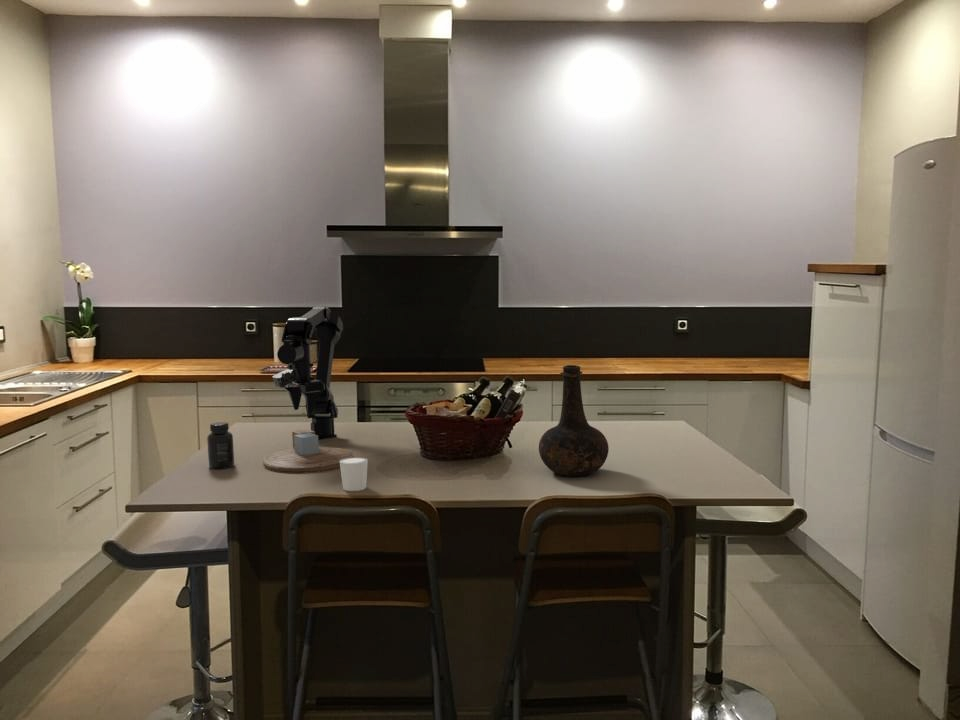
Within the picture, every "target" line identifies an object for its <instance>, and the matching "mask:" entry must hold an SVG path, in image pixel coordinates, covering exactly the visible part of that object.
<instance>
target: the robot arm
mask: <svg viewBox="0 0 960 720" xmlns="http://www.w3.org/2000/svg"><path fill="white" fill-rule="evenodd" d="M343 330H344V323H343V320H342V319H341V317H340V316H339V315H338V314H337V313H335V312H333V311H332V310H331V309H330V308H329V306H328V307H327V306H314V307H312V309H311V310H309V311H308V312H306V313H305V314H303V315H302V316H298V317H297V316H296V317H289V318H288V319H287V320H286V322H285V325H284V328H283V333H282V336H281V342H282V343H283V344H282V345H281V346H280V347H279V349H278V350H277V354H276V355H277V359H278V360H279V362H281V363H282V364H284V365H287V369H286V370H282V371H280V372H278V373H276V374H274V375H273V376H272V380H273V383H274V385H275V387H279V388H280V389H281V388H282V389H283V390H285V391H286V392H287V393H288V395H289V398H290V401H291V404H292V407H293V409H294V411H298V410H299V408H300V405H301V404H300V403H301V400H302V396H304V401H305V411H306V416H307V419H311V422H310V430H311V431H314V432H315V435H318V440H321V439H327V438H333V436H334V437H337V436H338V435H337V434H336V433H335V419H337V418H339V417H338V415H339V409H338V407H337V405H336V402H335V401H334V399H335V398H334V394H333V393H332V391H331V378H332V370H333V362H334V353H335V347H336V344H337V343H338V341H340V339H341V338H342V337H341V335H342V332H343ZM314 331H315V335H316V337H317V340H318V342H319V344H318V345H319V346H318V356H317V362H316V364H317V365H316V370H315V371H316V372H315V377H314V376H312V369H311V368H314V362H313V363H312V360H311V344H312V341H311V339H312V335H313V333H314Z"/></svg>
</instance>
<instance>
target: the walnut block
mask: <svg viewBox="0 0 960 720" xmlns="http://www.w3.org/2000/svg"><path fill="white" fill-rule="evenodd" d="M306 433H312V434H315V432H314V431H311V429H308V428H307V429H299V430H292V433H291V435H292V448H293V447H295V441H294V435H299V434H306Z"/></svg>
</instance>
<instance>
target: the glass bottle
mask: <svg viewBox="0 0 960 720" xmlns="http://www.w3.org/2000/svg"><path fill="white" fill-rule="evenodd" d="M582 374H583V372H582V371H581V366H580V365H575V364H573V365H572V364H568V365H563V367H562V372H560V373H559V375H560V376H562V399H561V401H562V402H561V413H560V418H559V422H558V424H557V425H555V426H553V427H551V428H549V429H547V430H546V431H545V432H544V433H543V434H542V436H541V437H540V440H539V442H538V454H539V457H540V459H541V461H542V462H543V464H544V466H546V467H547V469H549V470H550V471H551V472H553V473H555V474H557V475H560V476H565V477H583V476H589V475H591V474H594V473H595V472H597V471H599V470H600V469H601V468H602V467H603V465H604V464H605V462H606V460H607V458H608V456H609V450H610V449H609V442H608V440H607V438H606V436H605V435H604V434H603V433H602V432H601V431H600V430H599V429H598V428H595V427H594V426H591V425H590V424H589V423H588V420H587V417H586V414H585V410H584V404H583V398H582V397H583V396H582V388H581V387H582V384H581V375H582Z"/></svg>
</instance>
